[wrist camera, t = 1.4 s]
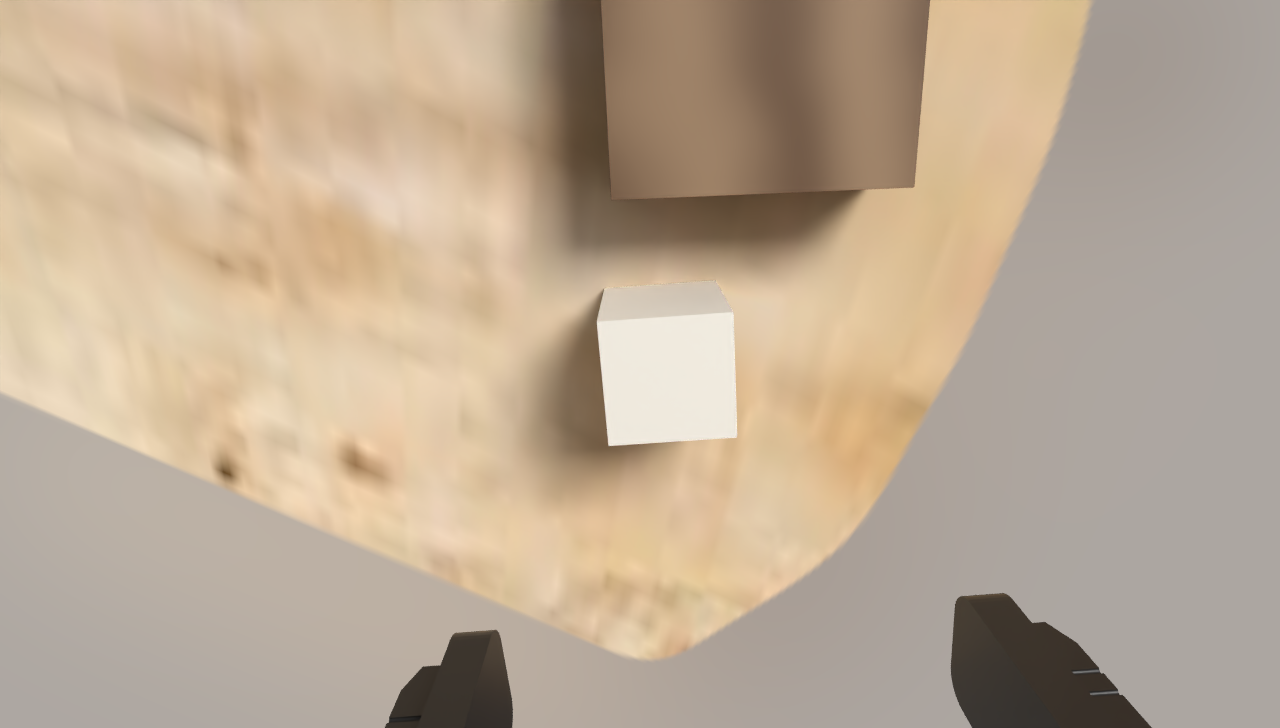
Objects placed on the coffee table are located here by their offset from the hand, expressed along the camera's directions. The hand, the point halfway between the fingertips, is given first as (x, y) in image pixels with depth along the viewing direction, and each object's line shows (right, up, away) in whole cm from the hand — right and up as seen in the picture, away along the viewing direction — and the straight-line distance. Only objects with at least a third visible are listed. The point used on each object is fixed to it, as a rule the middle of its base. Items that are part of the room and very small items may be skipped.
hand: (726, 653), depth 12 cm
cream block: (0, +6, +19) cm, 20 cm away
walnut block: (+3, +18, +16) cm, 24 cm away
